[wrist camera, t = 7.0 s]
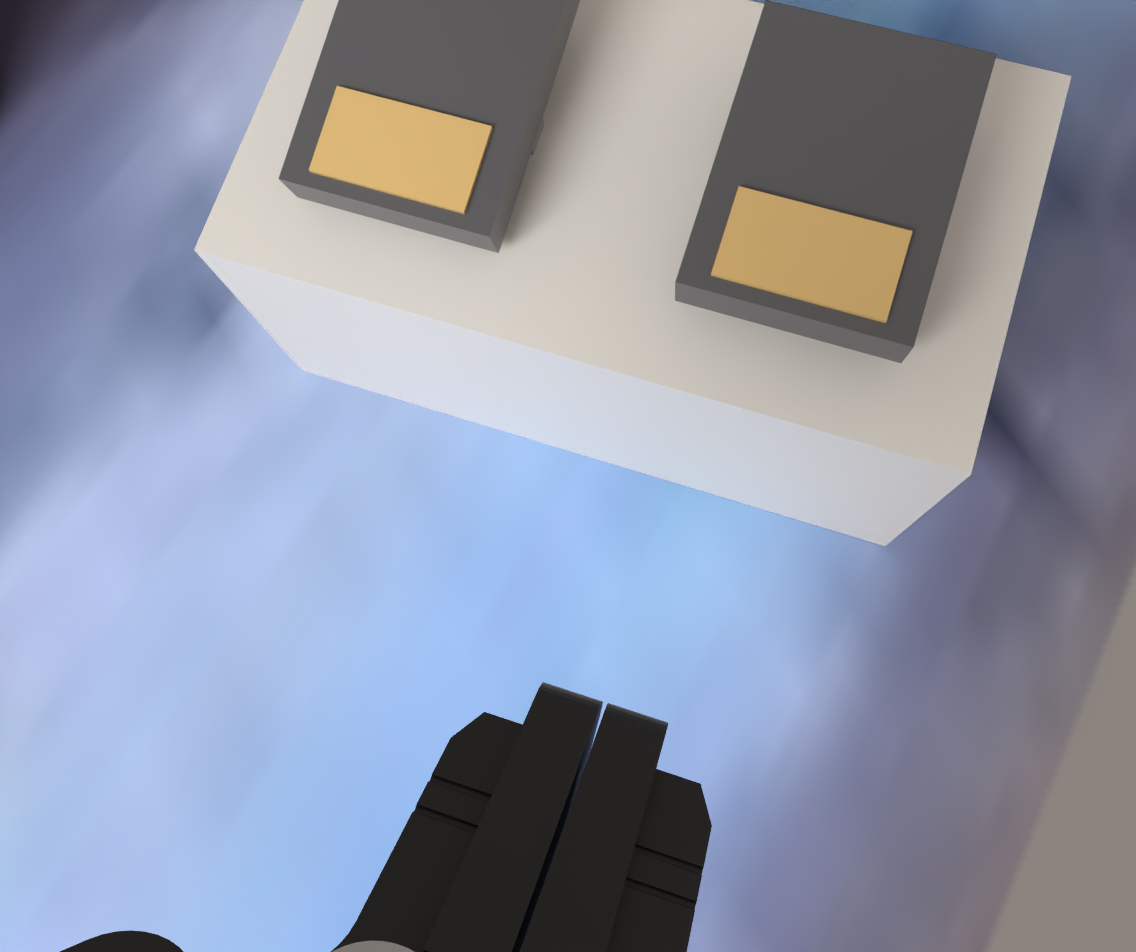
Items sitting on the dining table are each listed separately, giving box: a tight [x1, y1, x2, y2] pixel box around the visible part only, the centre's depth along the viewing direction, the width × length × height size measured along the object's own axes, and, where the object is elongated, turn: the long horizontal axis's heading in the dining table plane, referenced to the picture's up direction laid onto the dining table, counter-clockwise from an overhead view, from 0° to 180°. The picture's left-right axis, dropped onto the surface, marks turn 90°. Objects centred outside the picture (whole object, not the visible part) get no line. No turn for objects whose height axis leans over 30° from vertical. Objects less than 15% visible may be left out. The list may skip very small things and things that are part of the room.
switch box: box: [194, 0, 1071, 546], centre depth 35 cm, size 22×12×11 cm, turn 72°
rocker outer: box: [675, 0, 997, 363], centre depth 28 cm, size 6×8×2 cm
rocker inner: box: [278, 0, 580, 253], centre depth 29 cm, size 6×8×2 cm
